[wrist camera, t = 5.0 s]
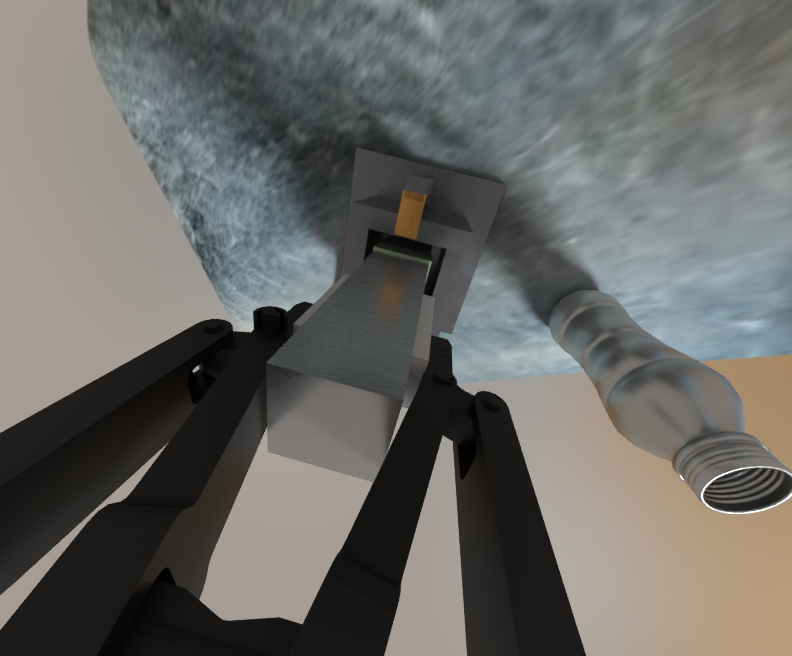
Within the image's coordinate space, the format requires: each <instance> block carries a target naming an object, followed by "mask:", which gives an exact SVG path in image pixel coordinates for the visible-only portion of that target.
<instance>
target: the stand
mask: <svg viewBox="0 0 792 656" xmlns="http://www.w3.org/2000/svg"><path fill="white" fill-rule="evenodd" d="M506 186H507V185H505V184H501V183H497V182H493V181H489V180H485V179H481V178H477V177H473V176H469V175H465V174H461V173H457V172H453V171H449V170H445V169H441V168H437V167H433V166H429V165H425V164H421V163H417V162H413V161H409V160H405V159H401V158H397V157H393V156H389V155H385V154H381V153H377V152H373V151H369V150H365V149H361V148H357V147H356V154H355V162H354V170H353V178H352V187H351V195H350V203H349V211H348V219H347V227H346V235H345V243H344V252H343V260H342V268H341V276H340V278H341V277H342V276H343V275H344V274H349V275H351V274H352V273H353V272H354V271H355V270H356V269H357V268H358V267H359V266H360V265H361V264H362V263H363V261H364V260H365V259H366V258H367V257H368V256H369V255H370V254H371V253H372V252H373V248H374V246H375V245H376V244H377V243H378V242H381V243H382V242H383V241H384V240H385V239H386V238H387V237H388V235H393V236H397V237H401V238H405V239H409V240H413V241H416V242H420V243H424V244H428V245H432V251H431V256H433V258H432V263H431V266H430V270H429V273H428V277H427V280H426V284H425V288H424V295H428V296H431V297H435V300H434V310H433V321H432V332H431V335H433V336H436V337H438V336H439V333H440V331H442V332H446V333H449V334H452V331H453V329H454V326H455V323H456V321H457V318H458V315H459V312H460V310H461V307H462V304H463V302H464V299H465V296H466V294H467V291H468V288H469V286H470V283H471V280H472V277H473V275H474V272H475V269H476V267H477V264H478V261H479V259H480V256H481V253H482V251H483V248H484V245H485V242H486V240H487V237H488V234H489V232H490V229H491V226H492V224H493V221H494V218H495V216H496V213H497V210H498V207H499V205H500V202H501V199H502V197H503V194H504V191H505V189H506Z"/></svg>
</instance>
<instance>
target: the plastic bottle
mask: <svg viewBox="0 0 792 656" xmlns="http://www.w3.org/2000/svg"><path fill="white" fill-rule="evenodd" d="M549 327H550V331H551V334H552V337H553V339H554V340H555V342H556V343H557V344H558V345H559V346H560V347H561V348H562V349H563V350H564V351H566V352H567V353H568V354H570V355H571V356H572V357H573V358H574V359H575V360H576V361H577V362H578V363H579V364H580V366H581V367H582V368H583V369H584V370H585V372H586V373H587V375H588V377H589V378H590V380H591V381H592V383H593V384H594V386H595V388H596V390H597V392H598V394H599V397H600V399H601V401H602V403H603V405H604V407H605V410H606V412H607V413H608V416H609V418H610V420H611V421H612V423H613V425H614V427H615V428H616V430H617V431H618V432H619V433H620V434H621V435H622V436H623V437H625V438H626V439H627V440H628V441H630V442H631V443H632V444H633V445H635V446H637V447H639V448H640V449H642V450H645V451H646V452H649V453H651V454H653V455H655V456H657V457H660V458H663V459H665V460H668V461H671V462H672V467H673V469H674V471H675V472H676V474H677V475H678V476H679V478H680V479H681V480H682V481H684V482H685V483H687V485H688V486H689V487H690V488H691V490H692V491H693V492H694V494H695V495H696V496H697V498H698V499H699V500H700V501H701V502H702V503H703V504H704V505H705V506H706V507H708V508H710V509H711V510H714V511H717V512H721V513H727V514H747V513H754V512H759V511H764V510H767V509H770V508H773V507H775V506H778V505H780V504H781V503H783V502H785V501H786V500H788V499H789V498H790V497H792V472H791V471H790V470H789V469H788V468H787V467H786V466H785V465H784V464H783V463H782V462H780V461H779V460H778V459H777V458H776V457H775V456H773V455H772V454H771V452H770V450H769V449H768V448H767V447H766V445H764V444H763V443H762V442H761V441H760V440H759V439H757V438H756V437H754V436H752V435H750V434H747V433H745V415H744V410H743V404H742V401H741V398H740V396H739V394H738V393H737V392H736V390H735V389H734V387H733V386H732V385H731V383H730V382H729V381H728V380H727V379H726V378H725V377H724V376H723V375H721V374H720V373H718V372H716V371H715V370H713V369H711V368H709V367H708V366H706V365H705V364H702V363H700V362H699V361H697V360H695V359H693V358H691V357H689V356H687V355H685V354H683V353H681V352H679V351H677V350H675V349H673V348H671V347H669V346H667V345H666V344H664V343H663V342H661V341H660V340H658V339H657V338H655V337H653V336H652V335H651V334H649V333H647V332H646V331H644V330H643V329H642V328H641V327H640V326H639V325H638V324H637V323H636V322H635V321H634V320H633V319H632V318H631V317H630V316H629V315H628V313H627V312H626V310H625V309H624V308H623V306H622V305H621V304H620V303H619V302H618V301H617V300H616V299H615V298H614V297H612V296H610V295H608V294H605V293H602V292H599V291H596V290H590V289H589V290H580V291H576V292H573V293H571V294H569V295H567V296H565V297H564V298H562V299H561V300H560V301H559V302H558V303H557V304H556V305H555V306H554V308H553V310H552V311H551V314H550V317H549Z"/></svg>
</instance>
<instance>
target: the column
mask: <svg viewBox="0 0 792 656" xmlns="http://www.w3.org/2000/svg"><path fill="white" fill-rule="evenodd" d="M431 251H432V245H428V244H424V243H420V242H416V241H413V240H409V239H405V238H401V237H397V236H393V235H388V237H387V238H386V239H385V240H384V241H383V242H382V243H381V242H378V243H377V244H376V245H375V246H374V248H373V252H372V253H371V254H370V255H369V256H368V257H367V258H366V259H365V260H364V261H363V263H362V264H361V265H360V266H359V267H358V268H357V269H356V270H355V271H354V272H353V273H352V274H351V275H350V276H349V277H348V278H347V279H346V280H345V281H344V282H343V283H342V284H341V285H340V286H339V287H338V289H337V290H336V291H335V292H334V293H333V294H332V295H331V296H330V297H329V298H328V299H327V300H326V301H325V302H324V303H323V304H322V305H321V306H320V307H319V308H318V309H317V310H316V311H315V312H314V313H313V315H312V316H311V317H310V318H309V319H308V320H307V321H306V322H305V323H304V324H303V325H302V326H301V327H300V328H299V329H298V330H297V331H296V332H295V333H294V334H293V335H292V336H291V337H290V338H289V339H288V341H287V342H286V343H285V344H284V345H283V346H282V347H281V348H280V349H279V350H278V351H277V352H276V353H275V354H274V355H273V356H272V357H271V358H270V359H269V360H268V361H267V362H266V385H267V434H268V452H270V453H274V454H277V455H281V456H284V457H288V458H291V459H295V460H298V461H301V462H305V463H309V464H312V465H315V466H319V467H322V468H326V469H329V470H333V471H337V472H340V473H343V474H347V475H350V476H354V477H357V478H361V479H364V480H368V481H371V482H374V480H375V478H376V476H377V474H378V472H379V470H380V468H381V466H382V463H383V461H384V459H385V457H386V454H387V451H388V448H389V445H390V442H391V438H392V435H393V432H394V429H395V426H396V422H397V419H398V416H399V413H400V409H401V407H402V404H403V400H404V395H405V389H406V384H407V379H408V373H409V368H410V363H411V357H412V352H413V347H414V341H415V336H416V331H417V326H418V320H419V315H420V310H421V304H422V299H423V294H424V288H425V284H426V280H427V277H428V273H429V270H430V266H431V263H432V258H433V256H431Z"/></svg>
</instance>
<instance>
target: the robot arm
mask: <svg viewBox="0 0 792 656" xmlns="http://www.w3.org/2000/svg"><path fill="white" fill-rule="evenodd" d="M349 276H350V275H349V274H344V275H343V276H342V277H341V278H340V279H339V280H338V281H337V282H336V283H335V284H334V285H333V286H332V287H331V288H330V289H329V290H328V291H327V292H326V293H325V294H324V295H323V296H322V297H321V298H319V299H318V300H317V301H316V302H315V303H314V304H311V303H308V302H302V303H299V304H296V305H295V306H294V307H292V308H291V310H289V311H288V312H287V311H286V310H284V309H282V308H279V307H272V306H267V307H261V308H258V309H256V310H255V311H253V317H254V330H253V331H252V332H236V331H233V326H232V324H231V323H230V322H228V321H226V320H221V319H210V320H205V321H202V322H199V323H197V324H195V325H193V326H192V327H190V328H188V329H186V330H184V331H183V332H181V333H179V334H178V335H175V336H174V337H172V338H170V339H168V340H166V341H165V342H163V343H161V344H159V345H157V346H156V347H154V348H152V349H150V350H149V351H147V352H145V353H143V354H141V355H140V356H138V357H136V358H134V359H132V360H131V361H129V362H127V363H125V364H123V365H122V366H120V367H118V368H116V369H114V370H113V371H111V372H109V373H107V374H106V375H104V376H102V377H100V378H99V379H96V380H95V381H93V382H91V383H89V384H87V385H86V386H84V387H82V388H80V389H79V390H77V391H75V392H73V393H71V394H70V395H68V396H66V397H64V398H63V399H61V400H59V401H57V402H55V403H53V404H52V405H50V406H48V407H46V408H44V409H43V410H41V411H39V412H37V413H35V414H34V415H32V416H30V417H28V418H26V419H25V420H23V421H21V422H19V423H17V424H16V425H14V426H12V427H10V428H8V429H7V430H5V431H3V432H1V433H0V595H1V594H2V593H3V592H4V591H6V590H7V589H8V588H9V587H10V586H11V585H12V584H14V583H15V582H16V581H17V580H18V579H19V578H20V577H21V576H22V575H24V574H25V573H26V572H27V571H28V570H29V569H30V568H31V567H32V566H33V565H35V564H36V563H37V562H38V561H39V560H40V559H41V558H42V557H43V556H44V555H46V553H48V552H49V551H50V550H51V549H52V548H53V547H54V546H55V545H56V544H58V543H59V542H60V541H61V540H62V539H63V538H64V537H65V536H66V535H67V534H69V533H70V532H71V531H72V530H73V529H74V528H75V527H76V526H77V525H78V524H79V523H81V522H82V521H83V520H84V519H85V518H86V517H87V516H88V515H89V514H90V513H92V512H93V511H94V510H95V509H96V508H97V507H98V506H99V505H100V504H101V503H102V502H103V501H105V500H106V499H107V498H108V497H109V496H110V495H111V494H112V493H113V492H115V490H117V489H118V488H119V487H120V486H121V485H122V484H123V483H124V482H125V481H127V480H128V479H129V478H130V477H131V476H132V475H133V474H134V473H135V472H136V471H138V470H139V469H140V468H141V467H142V466H143V465H144V464H145V463H146V462H147V461H148V460H149V459H151V458H152V457H153V456H154V455H155V454H156V453H157V452H158V451H159V450H161V449H162V448H163V447H164V446H165V445H166V444H167V443H168V442H169V441H170V442H169V443H168V444H167V446H166V447H165V448H164V450H163V451H162V452H161V454H160V455H159V456H158V458H157V459H156V460H155V462H154V463H153V464H152V466H151V467H150V468H149V469H148V471H147V472H146V473H145V475H144V476H143V477H142V479H141V480H140V482H139V483H138V484H137V485H136V487H135V488H134V490H133V491H132V492H131V493H130V494H129V495H128V497H127V498H126V499H124V500H123V501H121V502H117V503H112V504H108V505H107V506H105V507H104V508H102V509H101V510H99V511H98V512H97V513H96V514H95V515H94V516H93V517H92V518H91V520H90V521H89V522H88V523H87V524H86V525H85V526H84V528H83V529H82V530H81V531H80V532H79V534H78V535H77V536H76V537H75V539H74V540H73V541H72V542H71V543H70V545H69V546H68V547H67V548H66V550H65V551H64V552H63V553H62V555H61V556H60V557H59V558H58V560H57V561H56V562H55V563H54V565H53V566H52V567H51V568H50V570H49V571H48V572H47V573H46V574H45V576H44V577H43V578H42V579H41V581H40V582H39V583H38V584H37V585H36V587H35V588H34V589H33V590H32V592H31V593H30V594H29V596H28V597H27V598H26V599H25V600H24V602H23V603H22V604H21V605H20V607H19V608H18V609H17V610H16V612H15V613H14V614H13V615H12V616H11V618H10V619H9V620H8V621H7V623H6V624H5V625H4V626H3V628H2V629H1V630H0V656H384V654H385V650H386V647H387V643H388V639H389V636H390V632H391V628H392V625H393V621H394V617H395V613H396V610H397V606H398V602H399V597H400V592H401V581H402V577H403V573H404V570H405V566H406V562H407V559H408V555H409V551H410V548H411V545H412V541H413V538H414V534H415V531H416V527H417V524H418V520H419V516H420V513H421V509H422V506H423V502H424V498H425V495H426V492H427V488H428V484H429V481H430V478H431V473H432V470H433V467H434V464H435V460H436V456H437V453H438V449H439V446H440V442H441V439H442V435H443V436H445V437H447V438H448V439H450V440H452V441H453V451H454V466H455V482H456V495H457V511H458V526H459V541H460V555H461V570H462V585H463V599H464V614H465V631H466V645H467V656H586V654H585V651H584V648H583V644H582V641H581V638H580V635H579V632H578V629H577V625H576V622H575V619H574V616H573V613H572V609H571V606H570V603H569V600H568V597H567V593H566V590H565V587H564V584H563V581H562V577H561V574H560V571H559V568H558V565H557V561H556V558H555V555H554V552H553V549H552V545H551V543H550V539H549V536H548V533H547V529H546V527H545V523H544V520H543V517H542V514H541V510H540V507H539V504H538V501H537V498H536V495H535V491H534V488H533V485H532V482H531V479H530V475H529V472H528V469H527V466H526V463H525V459H524V456H523V453H522V450H521V446H520V443H519V440H518V437H517V434H516V431H515V427H514V424H513V421H512V418H511V415H510V412H509V408H508V406H507V404H506V402H504V401H503V400H502V399H501V398H500V397H499V396H497V395H496V394H493V393H491V392H487V391H481V392H478V393H477V394H476V395H475V396H474V395H471V394H469V393H468V392H466V391H464V390H463V389H461V388H460V387H459V386H458V385H457V380H456V378H455V377H454V375H453V373H452V346H451V344H450V343H449V341H448V340H447V339H444V338H440V337H436V336H433V335H431V332H432V321H433V310H434V300H435V297H431V296H428V295H424V294H423V299H422V304H421V310H420V315H419V320H418V326H417V331H416V336H415V341H414V347H413V352H412V357H411V363H410V368H409V373H408V379H407V384H406V389H405V395H404V400H403V404H402V407H405V408H409V409H408V411H407V413H406V415H405V417H404V419H403V422H402V423H401V426H400V428H399V430H398V432H397V434H396V436H395V438H394V440H393V443H392V444H391V447H390V449H389V451H388V453H387V455H386V457H385V459H384V461H383V463H382V466H381V468H380V470H379V472H378V474H377V476H376V478H375V480H374V482H373V484H372V487H371V489H370V491H369V493H368V495H367V497H366V499H365V501H364V504H363V506H362V508H361V510H360V512H359V514H358V516H357V518H356V520H355V522H354V525H353V527H352V529H351V531H350V533H349V535H348V537H347V539H346V541H345V543H344V545H343V547H342V549H341V550H340V552H339V553H338V554H337V556H336V558H335V559H334V561H333V563H332V565H331V567H330V569H329V571H328V573H327V575H326V577H325V579H324V581H323V583H322V585H321V587H320V589H319V592H318V594H317V596H316V598H315V600H314V602H313V604H312V606H311V608H310V610H309V612H308V615H307V616H306V618H305V620H304V623H303V625H302V624H299V623H296V622H293V621H289V620H286V619H283V618H279V617H278V618H263V619H248V620H234V621H226V620H222V619H221V618H219V617H218V616H217V615H216V614H214V613H213V612H212V611H211V610H210V609H209V608H207V606H205V605H204V604H203V603H202V602H201V601H200V600H199V599H200V596H201V593H202V591H203V588H204V584H205V581H206V576H207V571H208V565H209V562H210V559H211V556H212V553H213V551H214V548H215V546H216V544H217V542H218V539H219V537H220V534H221V532H222V530H223V528H224V525H225V523H226V521H227V518H228V516H229V514H230V511H231V509H232V506H233V504H234V502H235V499H236V497H237V495H238V492H239V490H240V488H241V486H242V483H243V481H244V478H245V476H246V474H247V472H248V469H249V467H250V465H251V462H252V460H253V458H254V455H255V453H256V451H257V448H258V446H259V444H260V441H261V439H262V437H263V434H264V432H265V430H266V427H267V385H266V362H267V361H268V360H269V359H270V358H271V357H272V356H273V355H274V354H275V353H276V352H277V351H278V350H279V349H280V348H281V347H282V346H283V345H284V344H285V343H286V342H287V341H288V339H289V338H290V337H291V336H292V335H293V334H294V333H295V332H296V331H297V330H298V329H299V328H300V327H301V326H302V325H303V324H304V323H305V322H306V321H307V320H308V319H309V318H310V317H311V316H312V315H313V313H314V312H315V311H316V310H317V309H318V308H319V307H320V306H321V305H322V304H323V303H324V302H325V301H326V300H327V299H328V298H329V297H330V296H331V295H332V294H333V293H334V292H335V291H336V290H337V289H338V287H339V286H340V285H341V284H342V283H343V282H344V281H345V280H346V279H347V278H348V277H349ZM198 365H199V370H198V371H196V372H194V373H193V372H192V370H193V369H194V368H195V367H196V366H198Z"/></svg>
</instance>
